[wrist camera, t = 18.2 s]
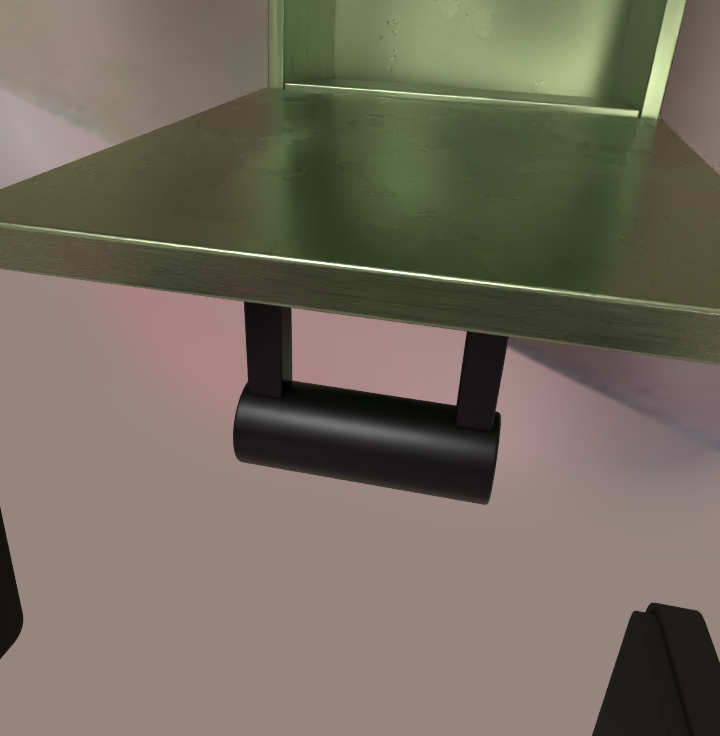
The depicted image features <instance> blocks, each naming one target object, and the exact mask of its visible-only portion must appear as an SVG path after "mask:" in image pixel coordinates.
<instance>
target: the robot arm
mask: <svg viewBox="0 0 720 736" xmlns="http://www.w3.org/2000/svg"><path fill="white" fill-rule="evenodd" d="M22 625H23V613H22V609H21V603H20V599H19V594H18V589H17V584H16V580H15V575H14V570H13V565H12V561H11V556H10V552H9V546H8V542H7V537H6V532H5V528H4V523H3V519H2V513H1V509H0V659H1V658H2V656H3V655H4V654H5V653H6V652H7V651H8V649H9V648H10V647H11V646H12V645H13V644H14V642H15V641H16V639H17V638H18V636H19V634H20V632H21V629H22ZM592 736H720V662H719V660H718V657H717V654H716V651H715V648H714V645H713V643H712V640H711V637H710V634H709V632H708V629H707V626H706V623H705V621H704V619H703V616H702V614H701V613H700V612H698V611H696V610H691V609H686V608H680V607H675V606H669V605H664V604H659V603H651V604H650V605H649V606H648V608H647V610H646V612H639V611H634V612H633V613H632V615H631V617H630V620H629V623H628V626H627V629H626V632H625V635H624V638H623V641H622V645H621V648H620V651H619V654H618V657H617V660H616V663H615V666H614V669H613V672H612V675H611V679H610V682H609V685H608V688H607V691H606V694H605V697H604V700H603V704H602V706H601V709H600V712H599V716H598V719H597V722H596V725H595V728H594V731H593V734H592Z"/></svg>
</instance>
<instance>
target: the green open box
mask: <svg viewBox="0 0 720 736" xmlns="http://www.w3.org/2000/svg"><path fill="white" fill-rule="evenodd" d="M686 4H687V0H268V88H269V89H282V90H295V91H307V92H320V93H333V94H346V95H359V96H372V97H385V98H397V99H410V100H423V101H436V102H449V103H462V104H474V105H487V106H500V107H513V108H526V109H539V110H552V111H564V112H577V113H590V114H603V115H616V116H629V117H642V118H654V119H659V115H660V111H661V107H662V103H663V99H664V95H665V91H666V86H667V82H668V78H669V74H670V70H671V66H672V62H673V57H674V53H675V49H676V45H677V41H678V37H679V33H680V28H681V24H682V20H683V16H684V12H685V8H686Z"/></svg>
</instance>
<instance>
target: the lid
mask: <svg viewBox="0 0 720 736" xmlns="http://www.w3.org/2000/svg"><path fill="white" fill-rule="evenodd" d="M0 269H5V270H13V271H20V272H28V273H35V274H43V275H50V276H57V277H65V278H73V279H80V280H87V281H95V282H102V283H110V284H117V285H125V286H133V287H140V288H147V289H156V290H162V291H170V292H177V293H185V294H193V295H200V296H207V297H215V298H222V299H230V300H237V301H244V311H245V330H246V349H247V367H248V382H247V384H246V385H245V387H244V389H243V392H242V394H241V396H240V399H239V402H238V406H237V410H236V414H235V421H234V429H233V445H234V452H235V455H236V457H237V459H238V460H239V461H241V462H244V463H250V464H256V465H262V466H267V467H273V468H278V469H284V470H290V471H295V472H301V473H307V474H313V475H318V476H324V477H330V478H335V479H341V480H347V481H353V482H358V483H364V484H370V485H375V486H381V487H387V488H392V489H398V490H404V491H410V492H415V493H421V494H427V495H433V496H438V497H444V498H449V499H455V500H461V501H466V502H472V503H478V504H484V505H486V504H488V502H489V499H490V495H491V491H492V485H493V480H494V474H495V468H496V461H497V453H498V446H499V437H500V426H501V415H500V413H499V412H495V411H496V405H497V399H498V394H499V388H500V382H501V377H502V370H503V365H504V360H505V354H506V349H507V343H508V337H514V338H522V339H529V340H537V341H544V342H551V343H559V344H566V345H574V346H581V347H589V348H596V349H604V350H611V351H619V352H626V353H634V354H641V355H649V356H656V357H664V358H671V359H679V360H686V361H694V362H701V363H709V364H716V365H720V175H719V174H718V173H717V172H716V171H715V170H714V169H713V168H712V167H711V166H710V165H708V164H707V163H706V162H705V161H704V160H703V159H702V158H701V157H700V156H699V155H698V154H697V153H696V152H695V151H694V150H693V149H692V148H691V147H690V146H689V145H688V144H686V143H685V142H684V141H683V140H682V139H681V138H680V137H679V136H678V135H677V134H676V133H675V132H674V131H673V130H672V129H671V128H670V127H669V126H668V125H667V124H666V123H664V122H663V121H662V120H661V119H654V118H642V117H629V116H616V115H603V114H590V113H577V112H564V111H552V110H539V109H526V108H513V107H500V106H487V105H474V104H462V103H449V102H436V101H423V100H410V99H397V98H385V97H372V96H359V95H346V94H333V93H320V92H307V91H295V90H282V89H269V88H263V89H261V90H258V91H256V92H253V93H250V94H248V95H245V96H243V97H240V98H237V99H235V100H232V101H230V102H227V103H224V104H222V105H219V106H217V107H214V108H211V109H209V110H206V111H203V112H201V113H198V114H196V115H193V116H190V117H188V118H185V119H183V120H180V121H177V122H175V123H172V124H170V125H167V126H164V127H162V128H159V129H157V130H154V131H151V132H149V133H146V134H143V135H141V136H138V137H136V138H133V139H130V140H128V141H125V142H123V143H120V144H117V145H115V146H112V147H110V148H107V149H104V150H102V151H99V152H97V153H94V154H91V155H89V156H86V157H83V158H81V159H79V160H76V161H73V162H71V163H68V164H65V165H63V166H60V167H57V168H55V169H52V170H50V171H47V172H44V173H42V174H39V175H37V176H34V177H32V178H29V179H26V180H23V181H21V182H18V183H16V184H13V185H11V186H8V187H5V188H3V189H0ZM291 308H297V309H305V310H312V311H320V312H328V313H335V314H342V315H349V316H357V317H365V318H372V319H380V320H387V321H394V322H402V323H409V324H417V325H424V326H432V327H440V328H447V329H454V330H463V331H467V334H466V342H465V348H464V356H463V363H462V370H461V377H460V384H459V391H458V399H457V405H456V406H455V405H449V404H442V403H435V402H429V401H422V400H415V399H409V398H402V397H396V396H389V395H382V394H376V393H370V392H363V391H357V390H350V389H344V388H337V387H330V386H323V385H317V384H311V383H304V382H298V381H292V327H291V326H292V325H291V323H292V322H291Z"/></svg>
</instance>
